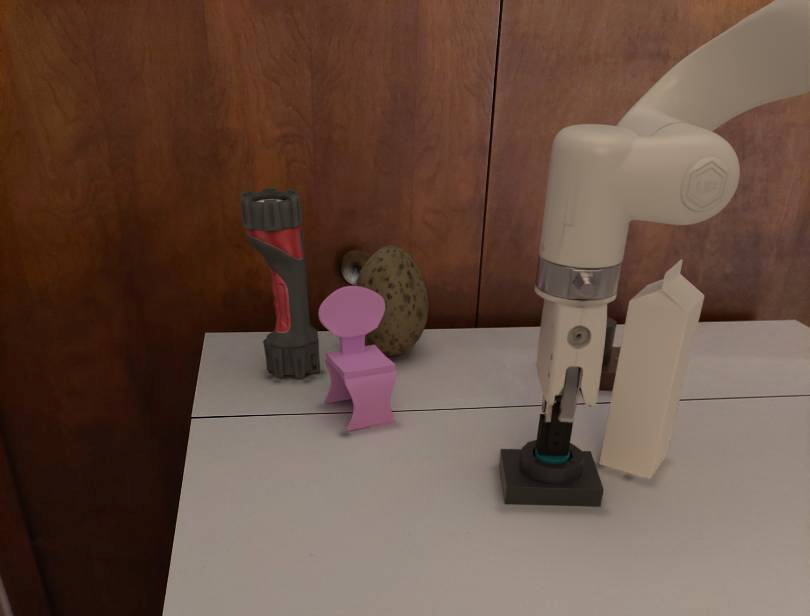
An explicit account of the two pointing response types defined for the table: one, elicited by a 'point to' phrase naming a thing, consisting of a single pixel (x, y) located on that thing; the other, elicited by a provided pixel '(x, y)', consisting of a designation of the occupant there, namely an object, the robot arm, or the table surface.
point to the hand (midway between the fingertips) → (551, 451)
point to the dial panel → (609, 370)
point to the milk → (651, 373)
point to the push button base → (549, 478)
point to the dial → (609, 339)
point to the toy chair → (358, 356)
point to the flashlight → (283, 278)
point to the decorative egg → (395, 299)
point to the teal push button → (552, 458)
